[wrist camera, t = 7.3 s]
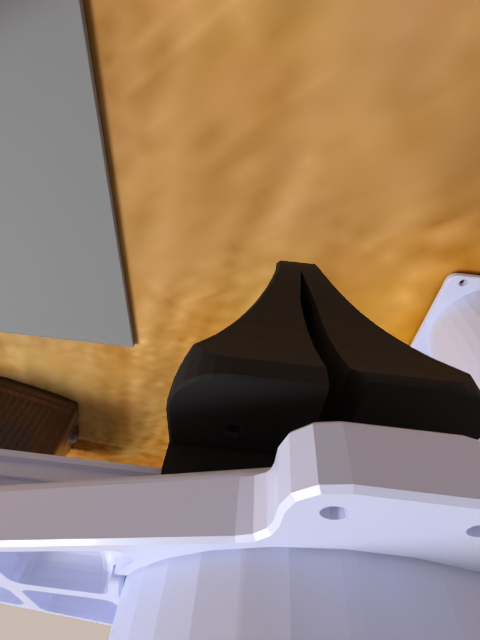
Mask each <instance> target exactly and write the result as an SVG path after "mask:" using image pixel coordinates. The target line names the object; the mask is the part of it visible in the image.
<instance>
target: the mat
mask: <svg viewBox="0 0 480 640" xmlns="http://www.w3.org/2000/svg"><path fill="white" fill-rule="evenodd" d="M0 332H5V333H14V334H22V335H31V336H40V337H49V338H57V339H66V340H75V341H84V342H92V343H101V344H110V345H119V346H127V347H133V346H134V344H135V343H134V336H133V330H132V323H131V317H130V310H129V303H128V297H127V290H126V284H125V277H124V270H123V264H122V257H121V250H120V244H119V237H118V231H117V224H116V217H115V211H114V204H113V198H112V191H111V184H110V178H109V171H108V165H107V158H106V151H105V145H104V138H103V132H102V125H101V118H100V112H99V105H98V99H97V92H96V85H95V79H94V72H93V66H92V59H91V52H90V46H89V39H88V33H87V26H86V19H85V13H84V6H83V0H0Z"/></svg>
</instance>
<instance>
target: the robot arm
mask: <svg viewBox="0 0 480 640" xmlns="http://www.w3.org/2000/svg"><path fill="white" fill-rule="evenodd" d="M461 280H465V281H464V282H462V283H459V282H460V281H461ZM166 410H167V420H168V430H169V445H168V449H167V452H166V456H165V459H164V463H163V467H162V468H156V467H148V466H139V465H131V464H123V463H114V462H106V461H98V460H89V459H81V458H72V457H64V456H56V455H47V454H39V453H31V452H22V451H14V450H6V449H0V603H2V604H8V605H12V606H17V607H22V608H27V609H32V610H37V611H42V612H47V613H52V614H57V615H61V616H67V617H71V618H76V619H81V620H86V621H91V622H96V623H101V624H106V625H111V626H112V627H111V631H110V634H109V638H108V640H480V275H473V274H464V273H452V274H450V275H449V276H448V277H447V278H446V279H445V281H444V283H443V285H442V287H441V289H440V291H439V293H438V294H437V296H436V298H435V300H434V302H433V304H432V306H431V308H430V310H429V311H428V313H427V315H426V317H425V319H424V321H423V323H422V325H421V326H420V328H419V330H418V332H417V334H416V336H415V338H414V340H413V342H412V343H411V345H410V346H409V345H407V344H405V343H403V342H402V341H400V340H398V339H397V338H395V337H394V336H392V335H390V334H389V333H387V332H386V331H384V330H383V329H381V328H380V327H378V326H377V325H376V324H374V323H373V322H372V321H371V320H369V319H368V318H367V317H365V316H364V315H363V314H362V313H360V312H359V311H358V310H357V309H356V308H355V307H354V306H353V305H352V304H351V303H350V302H349V301H347V300H346V299H345V298H344V297H343V295H342V294H341V293H340V292H339V291H338V290H337V289H336V288H335V287H334V286H333V285H332V283H331V282H330V281H329V280H328V279H327V278H326V276H325V275H324V274H323V273H322V272H321V270H320V269H319V268H318V267H317V266H316V265H315V264H307V263H298V262H288V261H279V262H278V263H277V265H276V271H275V273H274V275H273V278H272V279H271V281H270V283H269V285H268V286H267V288H266V289H265V291H264V292H263V293H262V295H261V296H260V297H259V299H258V300H257V301H256V302H255V304H254V305H253V306H252V307H251V308H250V309H249V310H248V311H247V312H246V313H245V314H244V315H242V316H241V317H240V318H239V319H238V320H237V321H235V322H234V323H233V324H231V325H230V326H228V327H227V328H225V329H224V330H222V331H221V332H219V333H218V334H216V335H214V336H212V337H209V338H207V339H205V340H203V341H201V342H198V343H196V344H194V345H193V346H192V348H191V349H190V351H189V352H188V354H187V355H186V357H185V358H184V360H183V362H182V364H181V365H180V367H179V369H178V371H177V373H176V376H175V378H174V380H173V383H172V386H171V389H170V392H169V396H168V399H167V407H166Z"/></svg>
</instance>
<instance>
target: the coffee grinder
mask: <svg viewBox="0 0 480 640" xmlns="http://www.w3.org/2000/svg"><path fill="white" fill-rule="evenodd" d="M78 416H79V412H78V405H77V404H76V403H74V402H72V401H69V400H67V399H65V398H63V397H61V396H58V395H56V394H54V393H51V392H48V391H44V390H41V389H38V388H35V387H32V386H29V385H26V384H23V383H20V382H17V381H14V380H10V379H7V378H4V377H0V449H6V450H14V451H22V452H31V453H39V454H47V455H56V456H64V457H65V456H66V455H67V454H68V453H69V451H70V449H71V447H72V444H73V443H76V441H77V439H78V436H79V431H78V425H77V423H78Z"/></svg>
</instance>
